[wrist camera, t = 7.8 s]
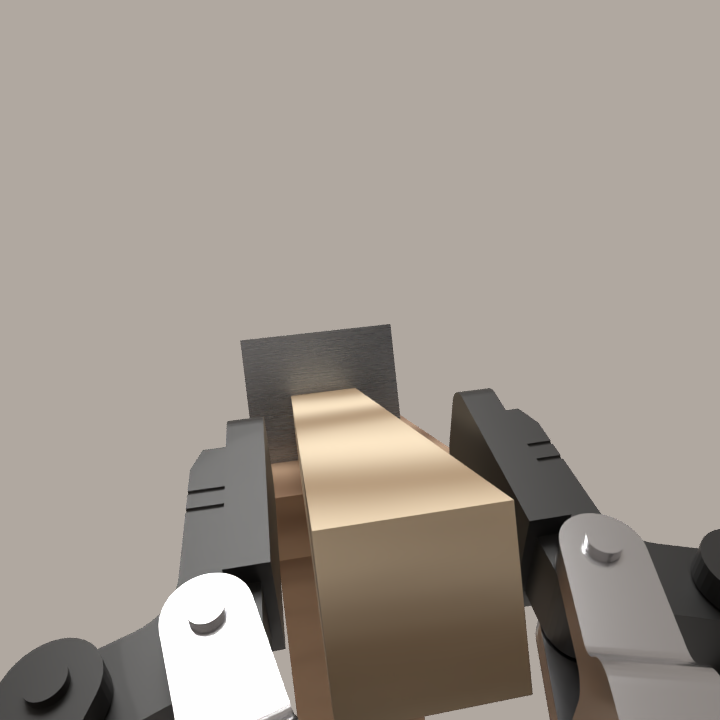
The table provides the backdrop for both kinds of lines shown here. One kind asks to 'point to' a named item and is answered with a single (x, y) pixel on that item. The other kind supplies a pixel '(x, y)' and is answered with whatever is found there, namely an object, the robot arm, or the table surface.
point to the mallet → (391, 534)
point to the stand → (304, 592)
